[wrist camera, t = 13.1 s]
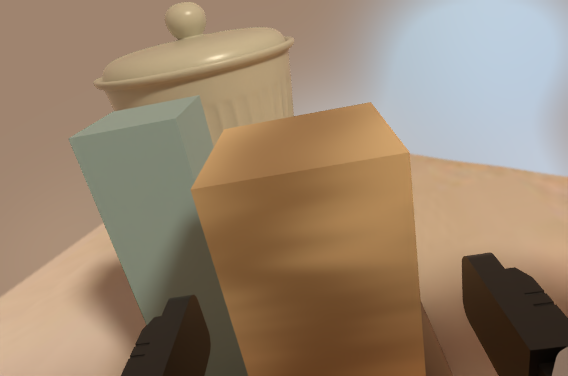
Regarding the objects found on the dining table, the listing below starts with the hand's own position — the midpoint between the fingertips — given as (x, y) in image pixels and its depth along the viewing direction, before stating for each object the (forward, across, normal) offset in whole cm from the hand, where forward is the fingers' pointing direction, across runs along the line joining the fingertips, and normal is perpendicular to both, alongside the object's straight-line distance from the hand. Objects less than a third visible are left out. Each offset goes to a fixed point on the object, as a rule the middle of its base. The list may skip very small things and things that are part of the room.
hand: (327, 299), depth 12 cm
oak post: (0, 0, +9) cm, 9 cm away
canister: (+29, +9, +11) cm, 32 cm away
